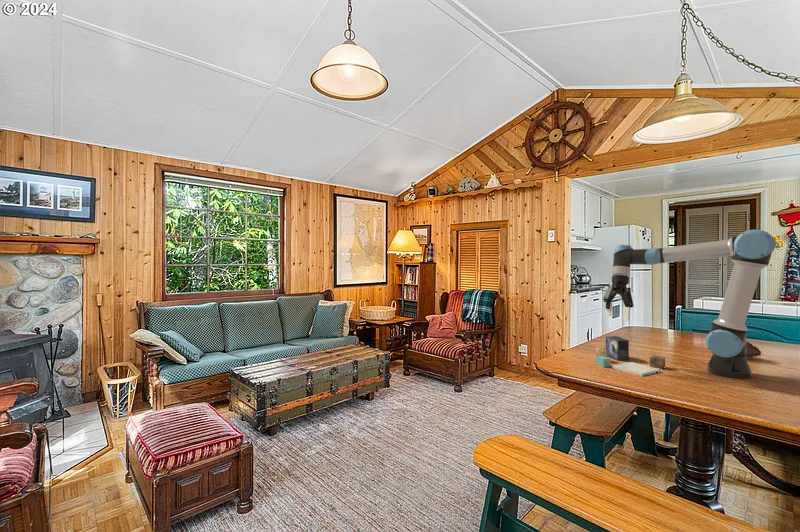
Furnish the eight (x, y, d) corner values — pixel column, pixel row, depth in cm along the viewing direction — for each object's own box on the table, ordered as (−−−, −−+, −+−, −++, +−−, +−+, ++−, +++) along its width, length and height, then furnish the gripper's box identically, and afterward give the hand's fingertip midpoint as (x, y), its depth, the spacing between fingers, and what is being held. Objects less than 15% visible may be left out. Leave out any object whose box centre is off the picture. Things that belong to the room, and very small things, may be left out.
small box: (604, 355, 206) (604, 336, 206) (616, 355, 206) (616, 335, 206) (617, 360, 195) (617, 340, 195) (629, 360, 196) (629, 340, 196)
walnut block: (665, 367, 183) (665, 357, 183) (661, 369, 180) (662, 359, 180) (653, 365, 187) (653, 355, 187) (649, 367, 184) (649, 357, 183)
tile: (660, 371, 176) (660, 369, 176) (641, 376, 170) (641, 373, 170) (631, 364, 189) (631, 361, 189) (612, 368, 183) (612, 365, 183)
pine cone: (768, 362, 190) (768, 342, 189) (750, 363, 188) (751, 343, 188) (732, 353, 207) (732, 335, 207) (716, 354, 206) (716, 336, 205)
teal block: (610, 366, 185) (610, 358, 185) (603, 367, 184) (603, 359, 184) (602, 364, 190) (602, 356, 190) (595, 364, 189) (595, 356, 189)
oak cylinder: (609, 361, 194) (609, 349, 194) (602, 362, 192) (602, 350, 192) (600, 359, 199) (600, 347, 199) (593, 360, 197) (593, 348, 197)
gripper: (629, 280, 199) (625, 321, 196) (597, 271, 189) (593, 313, 186) (643, 280, 193) (640, 322, 190) (611, 270, 182) (607, 314, 179)
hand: (617, 318), depth 188 cm, fingers open, 13 cm apart
